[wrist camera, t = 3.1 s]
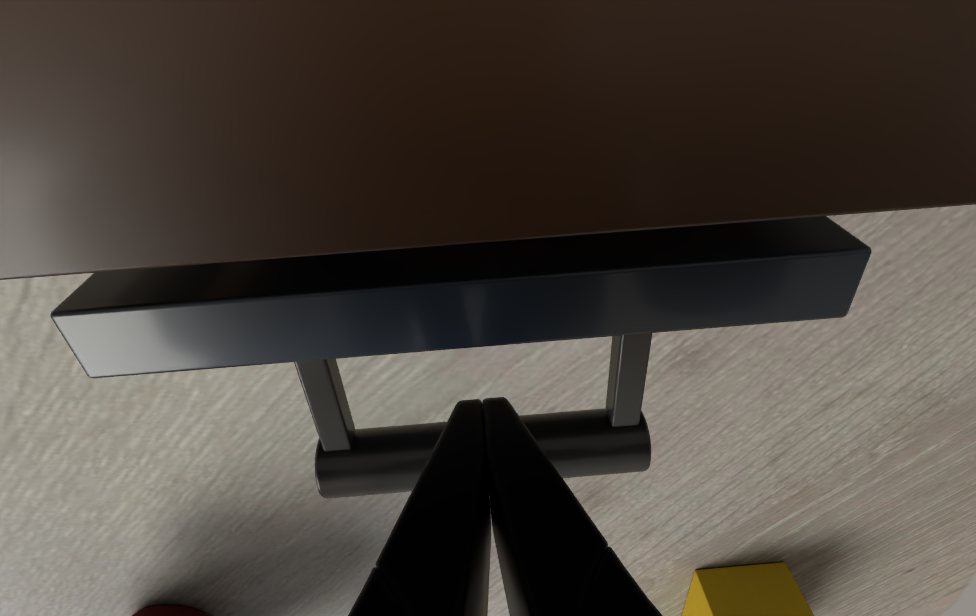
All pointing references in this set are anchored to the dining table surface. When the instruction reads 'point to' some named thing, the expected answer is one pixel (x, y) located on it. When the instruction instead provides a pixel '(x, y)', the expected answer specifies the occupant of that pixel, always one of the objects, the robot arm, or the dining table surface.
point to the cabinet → (462, 122)
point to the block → (745, 592)
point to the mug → (169, 611)
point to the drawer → (464, 323)
